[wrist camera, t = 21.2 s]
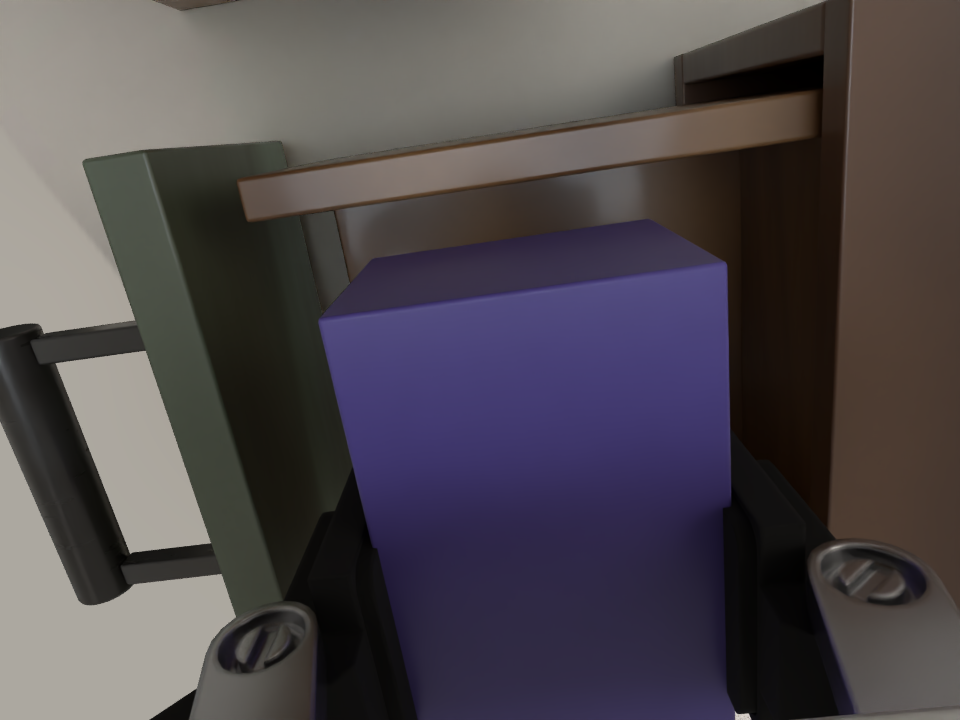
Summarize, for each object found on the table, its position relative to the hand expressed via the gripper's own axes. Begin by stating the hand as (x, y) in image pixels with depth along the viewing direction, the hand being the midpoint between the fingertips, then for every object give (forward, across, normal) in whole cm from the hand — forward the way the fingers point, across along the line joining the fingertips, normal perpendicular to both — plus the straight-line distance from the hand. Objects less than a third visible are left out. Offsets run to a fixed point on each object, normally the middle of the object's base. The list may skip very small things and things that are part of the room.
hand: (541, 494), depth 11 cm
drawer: (+9, +2, 0) cm, 10 cm away
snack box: (0, 0, 0) cm, 0 cm away
